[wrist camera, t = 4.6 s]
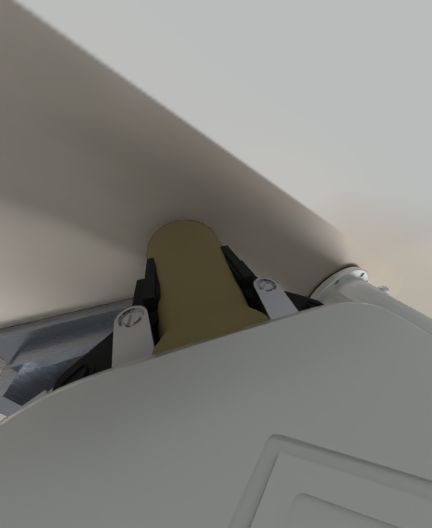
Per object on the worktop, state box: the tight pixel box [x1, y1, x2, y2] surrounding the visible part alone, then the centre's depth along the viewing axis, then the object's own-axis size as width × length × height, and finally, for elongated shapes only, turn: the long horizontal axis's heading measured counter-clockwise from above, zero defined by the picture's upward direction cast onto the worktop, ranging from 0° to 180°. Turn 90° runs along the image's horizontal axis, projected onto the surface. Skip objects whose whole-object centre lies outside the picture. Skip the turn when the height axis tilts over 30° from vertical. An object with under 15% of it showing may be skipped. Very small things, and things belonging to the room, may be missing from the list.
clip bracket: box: [0, 298, 133, 416], centre depth 13 cm, size 12×12×10 cm
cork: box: [146, 220, 270, 355], centre depth 9 cm, size 6×6×11 cm
